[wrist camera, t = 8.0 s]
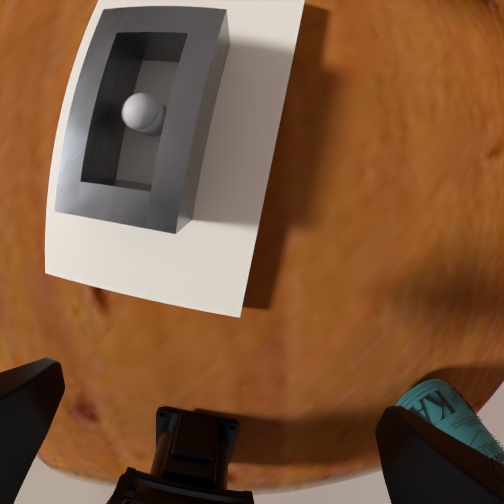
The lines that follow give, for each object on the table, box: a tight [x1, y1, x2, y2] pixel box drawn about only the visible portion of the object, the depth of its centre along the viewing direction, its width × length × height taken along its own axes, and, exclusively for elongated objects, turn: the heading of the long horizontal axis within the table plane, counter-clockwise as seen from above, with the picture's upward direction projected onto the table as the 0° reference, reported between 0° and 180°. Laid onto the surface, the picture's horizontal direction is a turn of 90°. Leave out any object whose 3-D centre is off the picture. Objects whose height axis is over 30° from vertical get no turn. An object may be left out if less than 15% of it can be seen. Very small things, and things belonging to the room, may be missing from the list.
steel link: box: [55, 6, 230, 234], centre depth 12 cm, size 10×6×4 cm, turn 169°
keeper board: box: [45, 0, 305, 318], centre depth 13 cm, size 20×13×5 cm, turn 169°
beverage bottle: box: [395, 379, 504, 464], centre depth 12 cm, size 6×7×20 cm
